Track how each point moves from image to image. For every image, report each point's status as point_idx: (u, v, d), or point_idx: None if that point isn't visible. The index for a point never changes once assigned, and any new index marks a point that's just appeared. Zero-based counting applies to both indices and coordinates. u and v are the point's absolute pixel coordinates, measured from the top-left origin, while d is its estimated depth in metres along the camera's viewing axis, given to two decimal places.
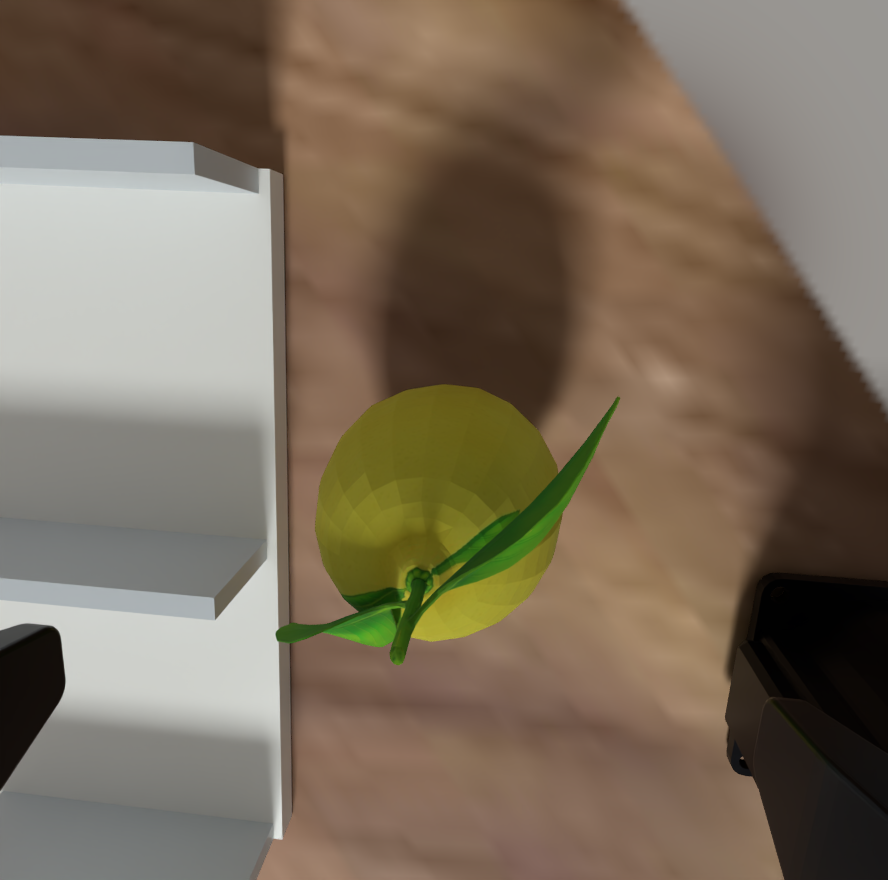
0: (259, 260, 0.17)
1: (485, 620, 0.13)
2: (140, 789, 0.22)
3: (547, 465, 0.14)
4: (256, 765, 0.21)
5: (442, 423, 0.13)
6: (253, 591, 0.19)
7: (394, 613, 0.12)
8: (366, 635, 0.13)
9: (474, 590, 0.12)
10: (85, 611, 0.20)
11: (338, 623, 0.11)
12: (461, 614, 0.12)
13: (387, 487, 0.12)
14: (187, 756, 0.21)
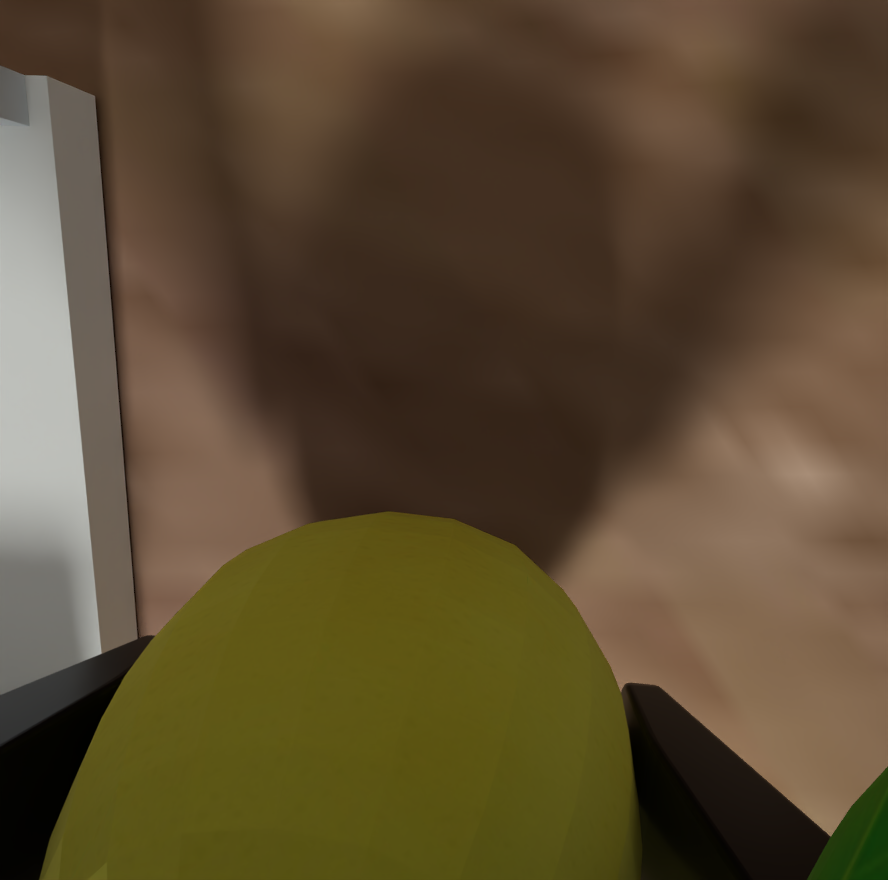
0: (41, 256, 0.09)
1: None
2: None
3: (612, 742, 0.06)
4: None
5: (344, 689, 0.05)
6: None
7: None
8: None
9: None
10: None
11: None
12: None
13: None
14: None
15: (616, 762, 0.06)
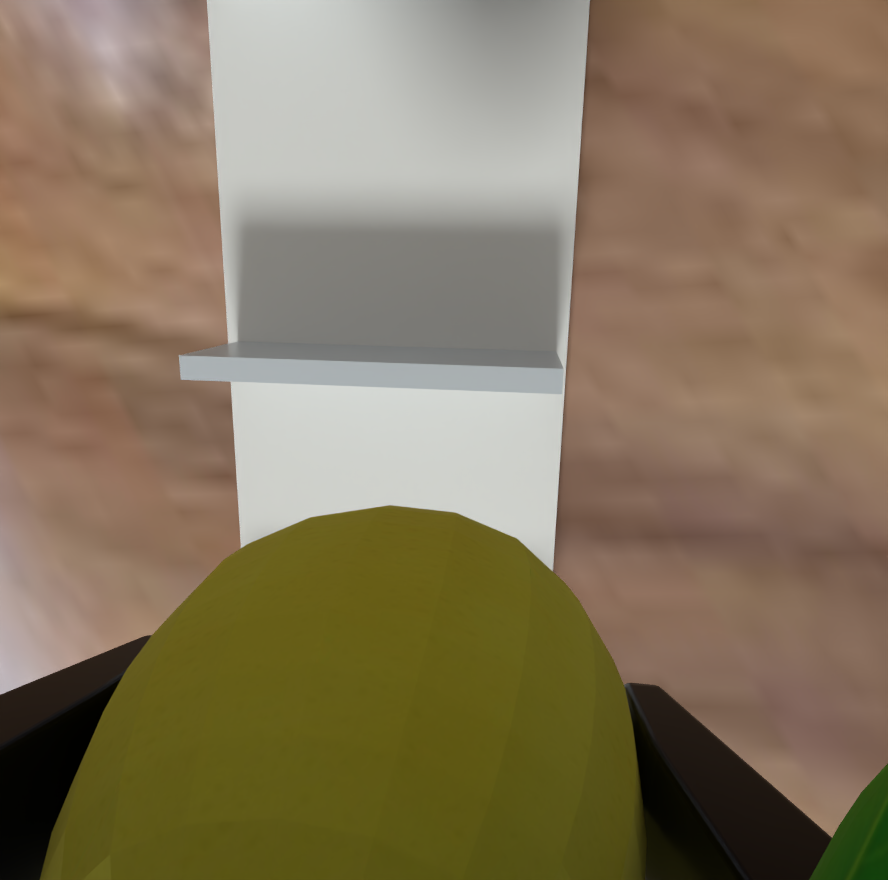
0: (574, 44, 0.17)
1: None
2: None
3: (617, 735, 0.06)
4: None
5: (349, 680, 0.05)
6: (537, 409, 0.19)
7: None
8: None
9: None
10: (358, 440, 0.20)
11: None
12: None
13: None
14: None
15: (620, 754, 0.06)
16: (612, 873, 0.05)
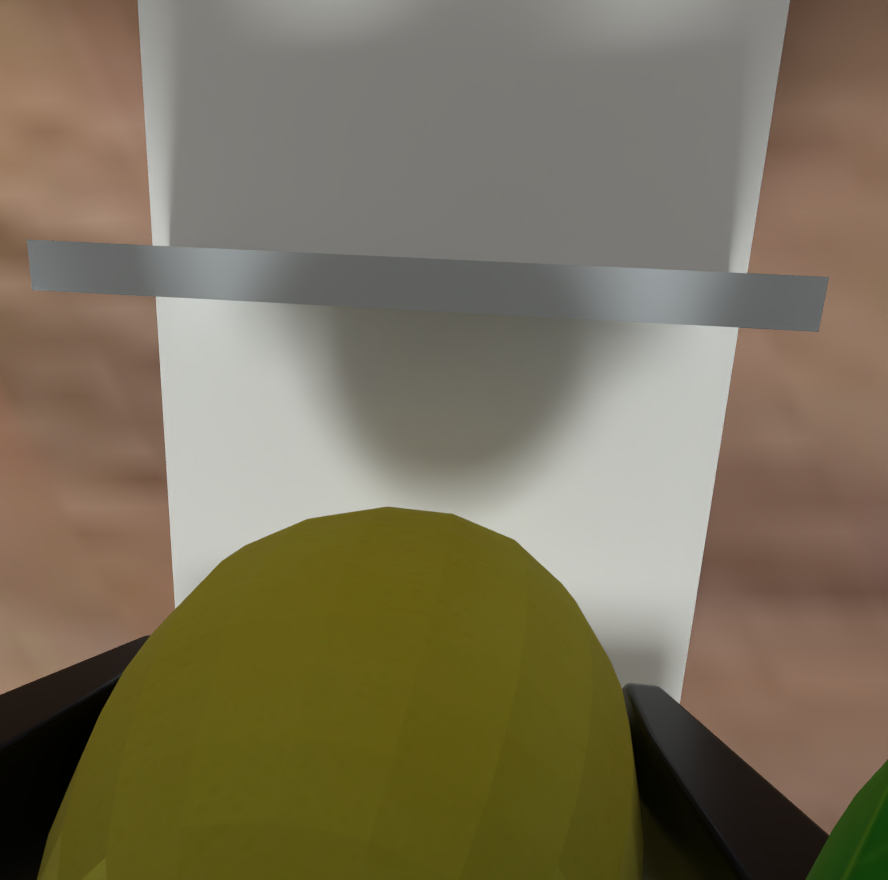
0: None
1: None
2: None
3: (613, 735, 0.06)
4: None
5: (345, 682, 0.05)
6: (685, 377, 0.11)
7: None
8: None
9: None
10: (372, 424, 0.12)
11: None
12: None
13: None
14: None
15: (617, 755, 0.06)
16: (608, 875, 0.05)
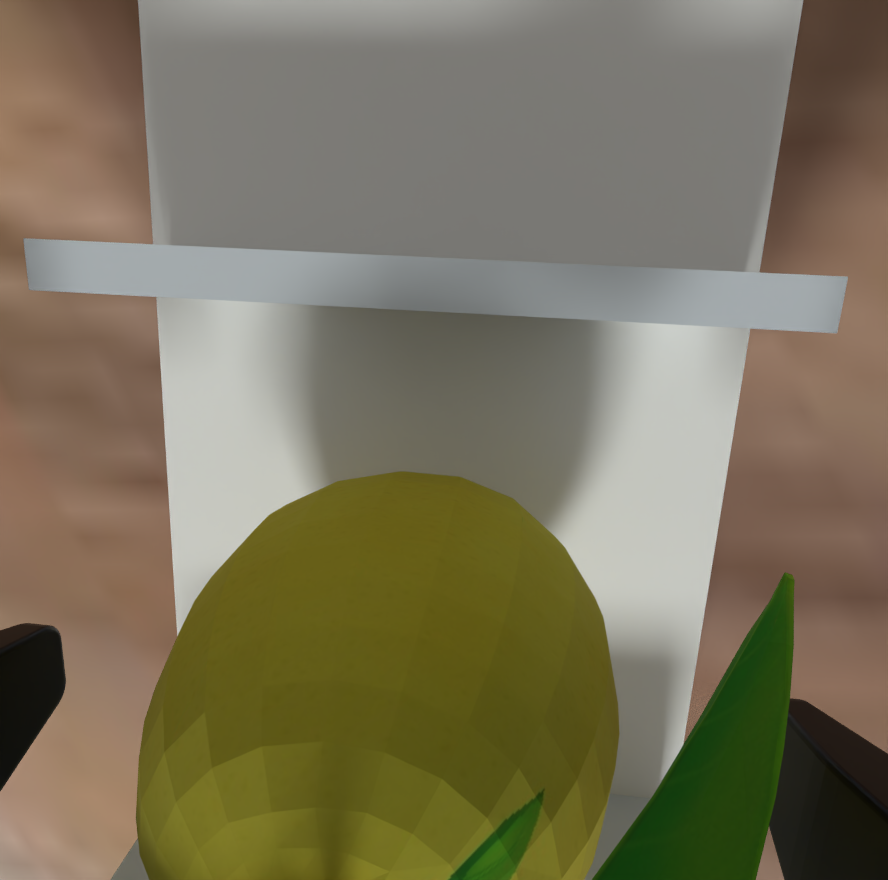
0: None
1: None
2: None
3: (592, 643, 0.07)
4: (646, 699, 0.12)
5: (378, 587, 0.06)
6: (696, 378, 0.11)
7: None
8: None
9: None
10: (376, 426, 0.12)
11: None
12: None
13: (243, 763, 0.05)
14: None
15: (595, 657, 0.07)
16: (585, 737, 0.06)
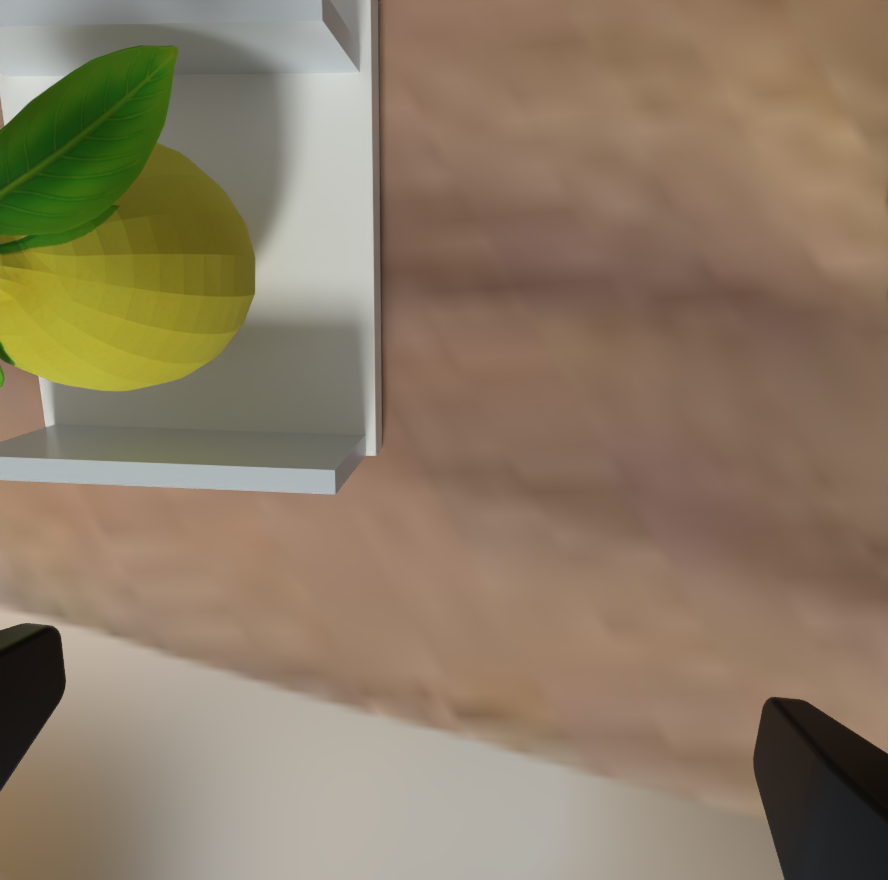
0: None
1: (103, 337, 0.12)
2: (212, 405, 0.19)
3: (194, 194, 0.13)
4: (346, 358, 0.18)
5: None
6: (344, 119, 0.17)
7: None
8: None
9: (60, 284, 0.11)
10: None
11: None
12: (58, 318, 0.12)
13: None
14: (266, 354, 0.19)
15: (193, 198, 0.13)
16: (161, 208, 0.12)
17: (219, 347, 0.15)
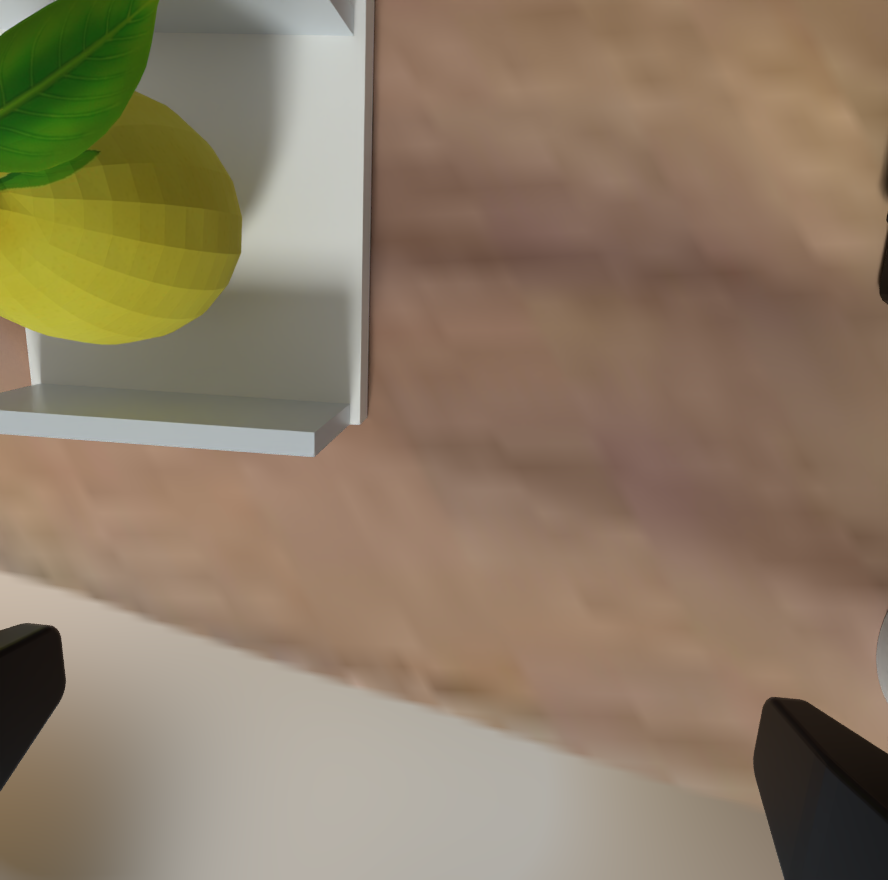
0: None
1: (81, 283, 0.12)
2: (198, 369, 0.19)
3: (179, 146, 0.13)
4: (333, 325, 0.18)
5: None
6: (336, 83, 0.17)
7: None
8: None
9: (38, 226, 0.11)
10: None
11: None
12: (35, 262, 0.12)
13: None
14: (253, 319, 0.19)
15: (177, 150, 0.13)
16: (143, 156, 0.12)
17: (202, 305, 0.15)
